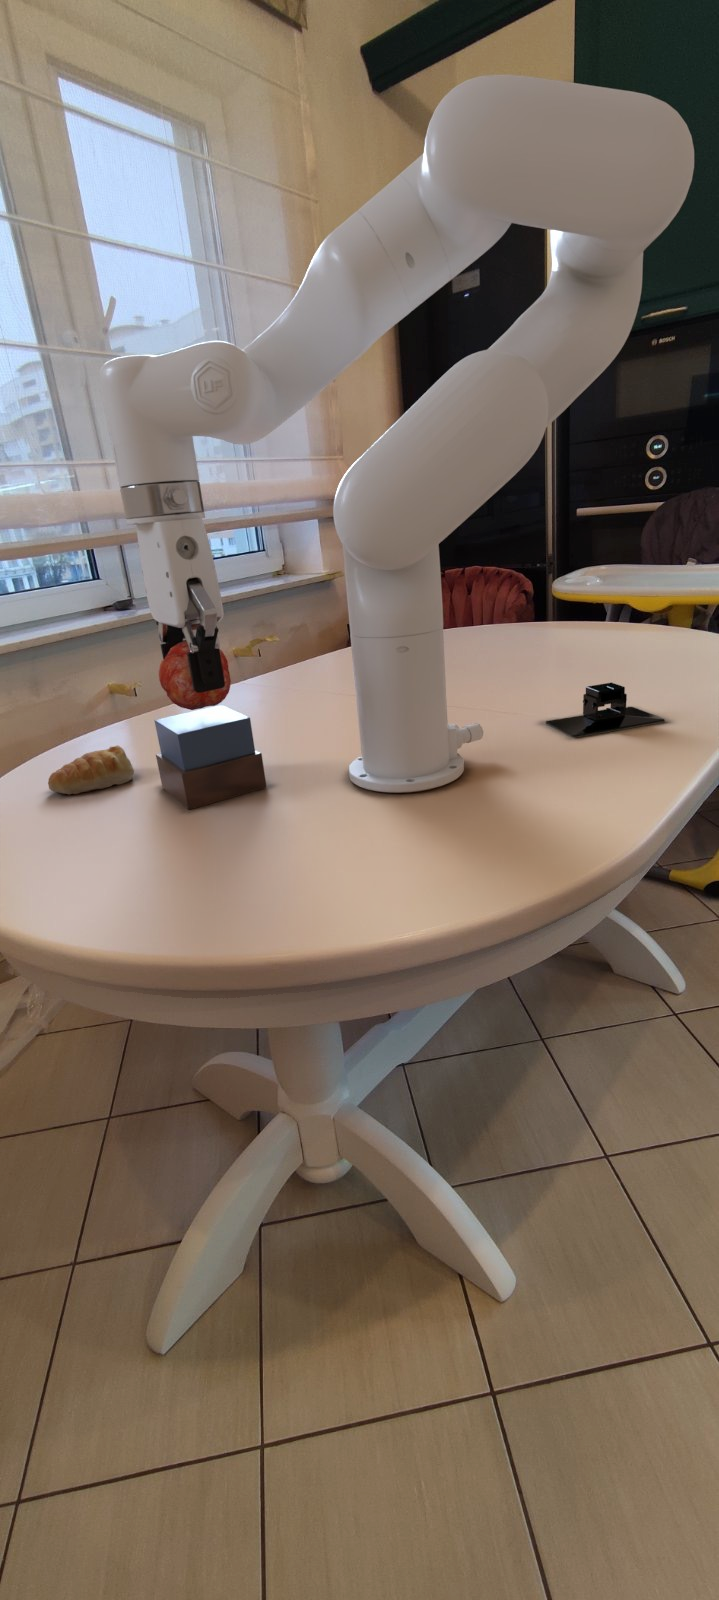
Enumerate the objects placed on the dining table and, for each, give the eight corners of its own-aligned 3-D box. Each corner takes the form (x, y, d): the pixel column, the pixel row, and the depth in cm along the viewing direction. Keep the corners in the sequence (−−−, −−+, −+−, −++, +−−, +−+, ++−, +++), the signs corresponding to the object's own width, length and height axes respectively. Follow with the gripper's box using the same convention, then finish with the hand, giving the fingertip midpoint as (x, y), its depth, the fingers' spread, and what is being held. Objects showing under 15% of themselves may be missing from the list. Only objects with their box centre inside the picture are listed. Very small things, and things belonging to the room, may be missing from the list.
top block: (227, 737, 85) (222, 704, 83) (255, 753, 78) (250, 717, 77) (161, 754, 81) (154, 719, 79) (184, 771, 75) (177, 734, 73)
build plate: (573, 739, 86) (574, 700, 84) (543, 724, 92) (543, 688, 91) (665, 721, 88) (667, 684, 86) (630, 708, 95) (631, 673, 93)
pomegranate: (166, 727, 80) (151, 689, 71) (166, 667, 82) (150, 622, 73) (234, 724, 81) (228, 687, 72) (232, 665, 83) (226, 621, 74)
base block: (235, 768, 87) (229, 736, 85) (266, 787, 80) (261, 753, 78) (162, 787, 83) (155, 754, 81) (188, 809, 75) (181, 774, 74)
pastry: (60, 803, 81) (52, 770, 79) (43, 789, 86) (34, 759, 84) (140, 779, 86) (133, 748, 85) (119, 768, 91) (112, 739, 90)
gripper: (234, 497, 65) (261, 689, 71) (172, 507, 79) (200, 667, 85) (152, 504, 61) (189, 705, 68) (103, 513, 75) (137, 679, 82)
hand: (195, 682), depth 77 cm, fingers closed on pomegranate, 8 cm apart
